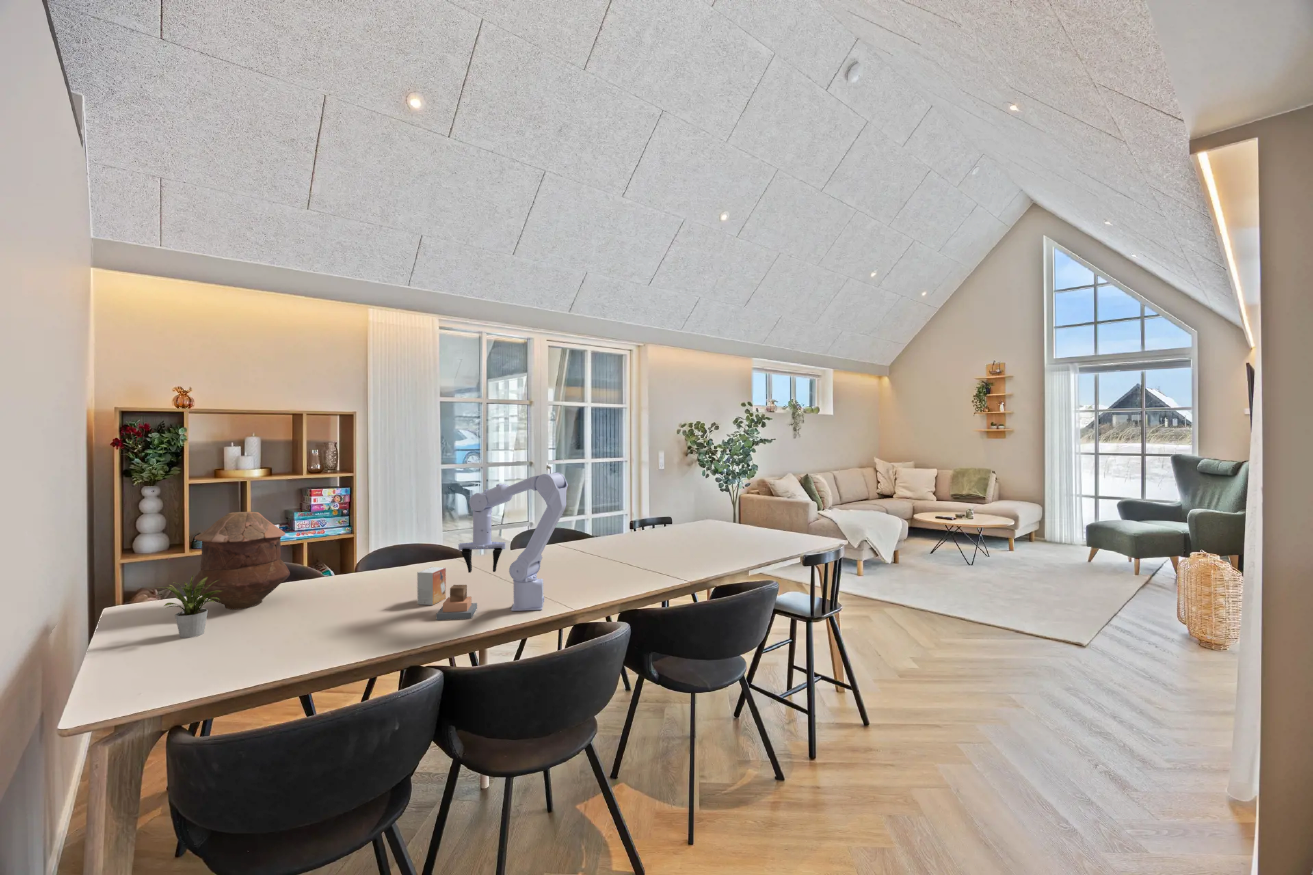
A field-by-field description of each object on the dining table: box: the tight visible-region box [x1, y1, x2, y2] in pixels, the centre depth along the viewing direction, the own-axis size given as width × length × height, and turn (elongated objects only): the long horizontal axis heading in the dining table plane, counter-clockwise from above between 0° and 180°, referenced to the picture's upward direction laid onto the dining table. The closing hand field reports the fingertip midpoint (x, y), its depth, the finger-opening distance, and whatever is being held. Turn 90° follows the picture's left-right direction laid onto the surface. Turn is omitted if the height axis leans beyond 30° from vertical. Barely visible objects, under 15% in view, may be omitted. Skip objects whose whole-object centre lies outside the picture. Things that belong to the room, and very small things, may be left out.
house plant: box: [155, 574, 221, 639], centre depth 159 cm, size 14×14×16 cm
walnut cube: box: [449, 584, 468, 601], centre depth 178 cm, size 4×4×4 cm
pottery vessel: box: [192, 511, 291, 610], centre depth 188 cm, size 26×26×30 cm
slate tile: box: [435, 602, 478, 621], centre depth 178 cm, size 10×10×2 cm
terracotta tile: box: [442, 596, 473, 612], centre depth 178 cm, size 7×7×2 cm
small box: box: [416, 566, 447, 606], centre depth 191 cm, size 8×6×10 cm
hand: (482, 571), depth 189 cm, fingers open, 7 cm apart
